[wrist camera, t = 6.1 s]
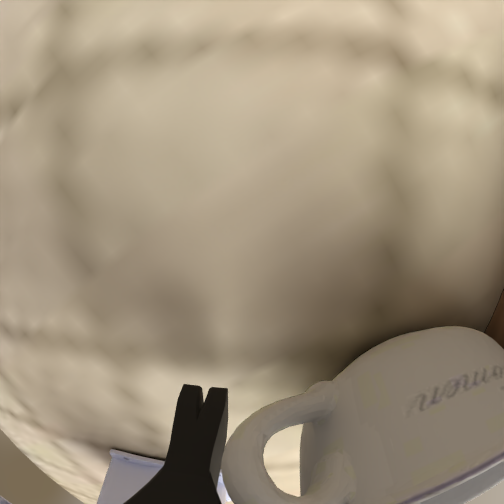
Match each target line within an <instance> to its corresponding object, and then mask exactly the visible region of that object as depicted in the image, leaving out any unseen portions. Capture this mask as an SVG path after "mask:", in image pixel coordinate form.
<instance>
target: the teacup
mask: <svg viewBox="0 0 504 504" xmlns="http://www.w3.org/2000/svg"><path fill="white" fill-rule="evenodd" d="M303 423H304V424H303ZM298 424H303V429H302V434H301V444H300V494H301V496H300V497H297V496H293V495H290V494H287V493H285V492H283V491H282V490H280V489H279V488H277V486H276V485H275V484H274V482H273V481H272V479H271V478H270V476H269V475H268V473H267V471H266V468H265V466H264V460H263V453H264V447H265V445H266V443H267V441H268V440H269V438H270V437H271V436H272V435H273V434H275V433H277V432H278V431H280V430H283V429H285V428H287V427H289V426H294V425H298ZM221 470H222V478H223V483H224V485H225V488H226V490H227V493H228V495H229V497H230V498H231V500H232V501H233V503H234V504H465V503H467V502H468V501H471V500H472V499H474V498H476V497H478V496H480V495H481V494H483V493H485V492H486V491H488V490H489V489H491V488H493V487H494V486H496V485H497V484H499V483H500V482H502V481H503V480H504V349H503V348H502V347H501V346H500V345H499V344H498V343H497V342H496V341H495V340H494V339H492V338H491V337H489V336H488V335H486V334H484V333H483V332H480V331H478V330H475V329H472V328H467V327H461V326H444V327H436V328H431V329H426V330H421V331H416V332H410V333H406V334H403V335H399V336H397V337H394V338H391V339H389V340H387V341H385V342H383V343H381V344H379V345H377V346H375V347H373V348H371V349H370V350H368V351H367V352H365V353H364V354H362V355H361V356H359V357H358V358H357V359H356V360H354V361H353V362H352V363H351V364H350V365H349V366H348V367H346V368H345V369H344V370H343V371H342V372H341V373H339V374H338V375H337V376H336V377H335V378H334V379H333V380H332V381H326V380H324V381H320V382H317V383H315V384H313V385H312V386H310V387H309V388H308V389H307V391H306V392H305V393H304V394H300V395H297V396H293V397H289V398H286V399H283V400H279V401H277V402H275V403H272V404H270V405H267V406H265V407H263V408H261V409H259V410H258V411H256V412H254V413H253V414H252V415H251V416H249V417H248V418H247V419H246V420H244V421H243V422H242V423H241V424H240V425H239V426H238V427H237V429H236V430H235V431H234V433H233V434H232V435H231V437H230V438H229V440H228V442H227V444H226V446H225V449H224V453H223V456H222V461H221Z"/></svg>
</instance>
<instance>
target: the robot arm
mask: <svg viewBox="0 0 504 504" xmlns="http://www.w3.org/2000/svg"><path fill="white" fill-rule="evenodd" d="M227 425H228V388H217V387H211V388H210V389H209V391H208V394H207V397H206V399H205V402H204V401H203V393H202V388H201V387H200V386H196V385H187V384H184V385H183V387H182V390H181V392H180V395H179V398H178V401H177V406H176V411H175V417H174V423H173V428H172V434H171V440H170V445H169V450H168V453H167V457H166V460H165V461H161V460H156V459H151V458H147V457H142V456H138V455H134V454H130V453H126V452H122V451H118V450H114V449H111V450H110V455H111V456H112V459H111V462H110V465H109V468H108V471H107V474H106V477H105V480H104V483H103V486H102V489H101V492H100V495H99V498H98V501H97V504H226V501H232V500H231V498H230V497H229V495H228V493H227V490H226V488H225V485H224V483H223V478H222V470H221V461H222V456H223V453H224V449H225V443H226V437H227ZM0 504H12V503H10V502H9V501H7V500H5V499H4V498H3V497H1V496H0Z"/></svg>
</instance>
